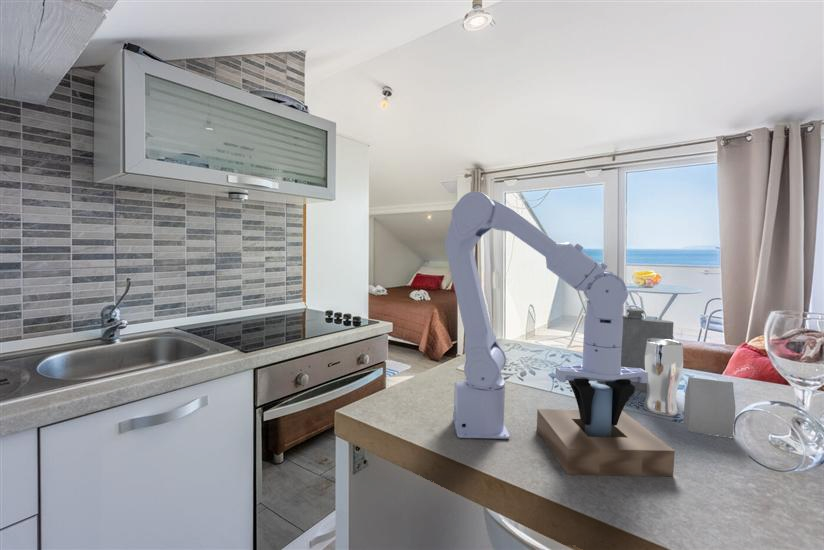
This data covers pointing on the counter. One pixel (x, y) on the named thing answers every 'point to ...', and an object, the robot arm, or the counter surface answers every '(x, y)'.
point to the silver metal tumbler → (662, 375)
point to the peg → (600, 412)
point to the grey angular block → (709, 407)
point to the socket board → (604, 446)
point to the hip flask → (640, 339)
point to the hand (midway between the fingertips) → (598, 422)
